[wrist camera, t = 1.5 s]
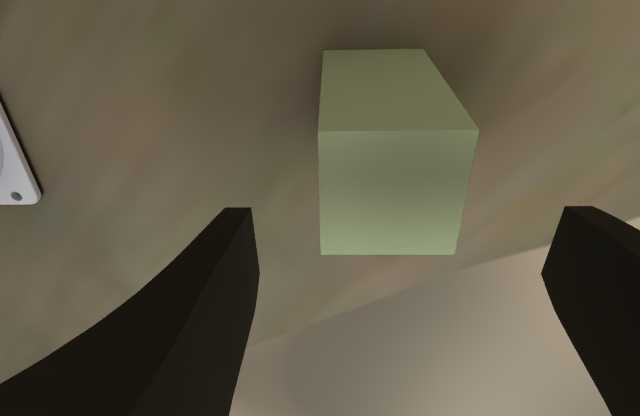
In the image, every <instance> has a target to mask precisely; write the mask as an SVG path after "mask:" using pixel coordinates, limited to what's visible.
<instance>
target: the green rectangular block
mask: <svg viewBox="0 0 640 416" xmlns="http://www.w3.org/2000/svg"><path fill="white" fill-rule="evenodd" d="M478 135H479V129H478V127H477V126H476V124H475V123H474V121H473V120H472V119H471V117H470V116H469V114H468V113H467V111H466V110H465V108H464V107H463V106H462V104H461V103H460V101H459V100H458V98H457V97H456V95H455V94H454V93H453V91H452V90H451V88H450V87H449V85H448V84H447V82H446V81H445V80H444V78H443V77H442V75H441V74H440V72H439V71H438V69H437V68H436V67H435V65H434V64H433V62H432V61H431V59H430V58H429V56H428V55H427V54H426V52H425V51H424V49H364V50H323V62H322V77H321V91H320V106H319V121H318V162H319V203H320V243H321V255H455V250H456V245H457V240H458V235H459V230H460V225H461V220H462V215H463V210H464V205H465V200H466V195H467V190H468V185H469V180H470V175H471V170H472V165H473V160H474V155H475V150H476V145H477V140H478Z"/></svg>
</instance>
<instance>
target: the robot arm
mask: <svg viewBox="0 0 640 416" xmlns="http://www.w3.org/2000/svg"><path fill="white" fill-rule="evenodd" d="M16 192H17V193H19V194H20V195H21V196H19V195H18V194H17V193H16ZM40 198H41V192H40V190H39V188H38V186H37V183H36V181H35V179H34V177H33V174H32V172H31V170H30V168H29V165H28V163H27V161H26V159H25V157H24V154H23V152H22V150H21V148H20V145H19V143H18V141H17V139H16V136H15V134H14V132H13V130H12V127H11V125H10V123H9V121H8V119H7V116H6V114H5V112H4V110H3V107H2V105H1V103H0V205H27V204H35V203H36V202H37V201H39V200H40ZM259 275H260V272H259V264H258V256H257V249H256V241H255V234H254V226H253V218H252V211H251V207H247V208H224V209H223V210H222V211H221V212H220V213H219V214H218V215H217V216H216V217H215V218H214V219H213V220H212V221H211V222H210V224H209V225H208V226H207V227H206V228H205V229H204V230H203V231H202V232H201V233H200V234H199V235H198V236H197V237H196V238H195V239H194V240H193V241H192V242H191V243H190V244H189V245H188V246H187V247H186V248H185V249H184V250H183V251H182V252H181V253H180V254H179V255H178V256H177V257H176V258H175V259H174V260H173V261H172V262H171V263H170V264H169V265H168V266H167V267H165V268H164V269H163V270H162V271H161V272H160V273H159V274H158V275H156V276H155V277H154V278H153V279H152V280H151V281H150V282H149V283H148V284H146V285H145V286H144V287H143V288H142V289H141V290H139V291H138V292H137V293H136V294H135V295H133V296H132V297H131V298H130V299H128V300H127V301H126V302H125V303H123V304H122V305H121V306H119V307H118V308H117V309H115V310H114V311H113V312H111V313H110V314H109V315H107V316H106V317H105V318H103V319H102V320H101V321H99V322H98V323H96V324H95V325H94V326H92V327H91V328H89V329H88V330H86V331H85V332H83V333H82V334H80V335H79V336H77V337H76V338H74V339H73V340H71V341H69V342H68V343H66V344H65V345H63V346H62V347H60V348H59V349H57V350H56V351H54V352H53V353H51V354H50V355H48V356H47V357H45V358H43V359H42V360H40V361H39V362H37V363H35V364H34V365H32V366H30V367H28V368H27V369H25V370H23V371H22V372H20V373H18V374H17V375H15V376H13V377H11V378H10V379H8V380H6V381H4V382H3V383H1V384H0V416H229V412H230V408H231V403H232V398H233V394H234V391H235V387H236V383H237V379H238V375H239V371H240V367H241V364H242V360H243V356H244V352H245V348H246V344H247V340H248V336H249V333H250V329H251V325H252V321H253V317H254V313H255V307H256V299H257V292H258V283H259ZM541 275H542V278H543V281H544V283H545V286H546V289H547V292H548V295H549V297H550V300H551V302H552V305H553V307H554V310H555V312H556V314H557V316H558V318H559V320H560V321H561V323H562V325H563V327H564V329H565V331H566V333H567V335H568V336H569V338H570V340H571V342H572V344H573V346H574V347H575V349H576V351H577V353H578V354H579V356H580V358H581V360H582V361H583V363H584V365H585V367H586V369H587V371H588V372H589V374H590V376H591V378H592V380H593V381H594V383H595V385H596V387H597V388H598V390H599V392H600V394H601V396H602V398H603V399H604V401H605V403H606V405H607V407H608V409H609V411H610V413H611V415H612V416H640V230H638V229H636V228H634V227H633V226H631V225H629V224H627V223H625V222H623V221H622V220H620V219H618V218H616V217H614V216H612V215H610V214H608V213H606V212H604V211H602V210H600V209H597V208H595V207H593V206H565V207H564V210H563V213H562V216H561V219H560V221H559V224H558V227H557V230H556V233H555V236H554V238H553V241H552V244H551V247H550V250H549V252H548V255H547V258H546V261H545V264H544V267H543V269H542V272H541Z"/></svg>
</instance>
